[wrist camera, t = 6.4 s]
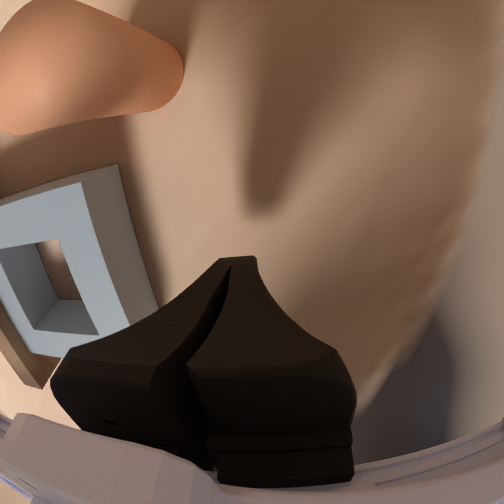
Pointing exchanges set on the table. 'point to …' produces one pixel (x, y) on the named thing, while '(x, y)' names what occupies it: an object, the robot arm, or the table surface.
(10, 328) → the backstop wall
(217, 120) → the table surface
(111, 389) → the robot arm
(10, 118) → the dowel
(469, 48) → the table surface
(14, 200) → the block
